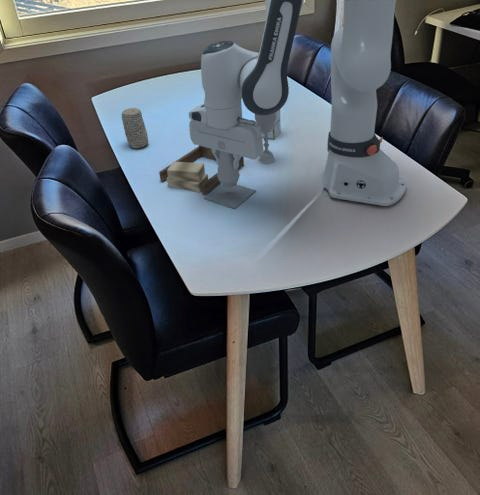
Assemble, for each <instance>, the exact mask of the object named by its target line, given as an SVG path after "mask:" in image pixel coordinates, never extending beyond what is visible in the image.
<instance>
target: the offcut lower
mask: <svg viewBox="0 0 480 495" xmlns="http://www.w3.org/2000/svg"><path fill="white" fill-rule="evenodd" d="M208 179H209V174H208V173H205V174H204V176H203V177H202V179H201V181H200V182H192V181H179V180H169V179H168V178H167V180H166V182H167V187H169V188H175V189H179V190H180V189H181V190H187V191H192V192H198V193H201V192H202V188H201V184H203V183H204V182H205V181H207V180H208Z"/></svg>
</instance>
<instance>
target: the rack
mask: <svg viewBox="0 0 480 495" xmlns="http://www.w3.org/2000/svg"><path fill="white" fill-rule="evenodd" d="M200 158H205V159H209V160H212V161H216V158H215V156H214V155H213V153H212V149H211V148H207V147H203V146H200V145H197V147H195V148H193V149H192V150H191V151H189V152H188V153H186V154H184V155H183V156H182V157H179V158H178V159H176V160H175V161H174V162H189V163H195V162H196V161H197V160H199V159H200ZM244 158H245V157H241V158H240V160H239V167H238V171H239V170H240V169H242V168H243V167H244V166H245V159H244ZM170 165H171V164H169V165H167V166H166V167H165V168H163V169H161V170H160V171H158V174H159V178H160V179H159V180H160V182H161V183H164V182H167V178H168V173H167V170H168V168H169V167H170ZM217 173H218V172H216V173H215V174H214V175H213V176H211V177H209V178H208V180H207V181H205V182H204V183H203V184H201V188H202V190H201V195H203V196H207V195H209V194H210V193H211V192H212V191H214V190H215V189H216V187H217V188H218V187H219V186H220V185H222V184H221V183H220V181H219V180H218V177H217Z"/></svg>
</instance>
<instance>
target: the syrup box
mask: <svg viewBox="0 0 480 495" xmlns="http://www.w3.org/2000/svg"><path fill="white" fill-rule="evenodd" d="M281 126H282V125H281V109H280V110H278V111H277V112H276V121H275V124H274V126H273V128H272V130H271V132H270V133H268V138H269V140H276V139H277V138H278V137H279V135H281V131H282V128H281ZM261 136H262V139H264V136H265V135H264V133H262V132H261Z"/></svg>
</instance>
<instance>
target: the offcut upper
mask: <svg viewBox="0 0 480 495" xmlns="http://www.w3.org/2000/svg"><path fill="white" fill-rule="evenodd" d="M169 165H170V167H169V168H168V170H167V173H168V179H169V180H179V181H192V182H200V181H201V179H202V177H203V176H204V174H206V171H205V169H206V168H205V163H203V162H202V163H201V162H200V163H199V162H193V163H189V162H175V161H172V162H171V164H169Z"/></svg>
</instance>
